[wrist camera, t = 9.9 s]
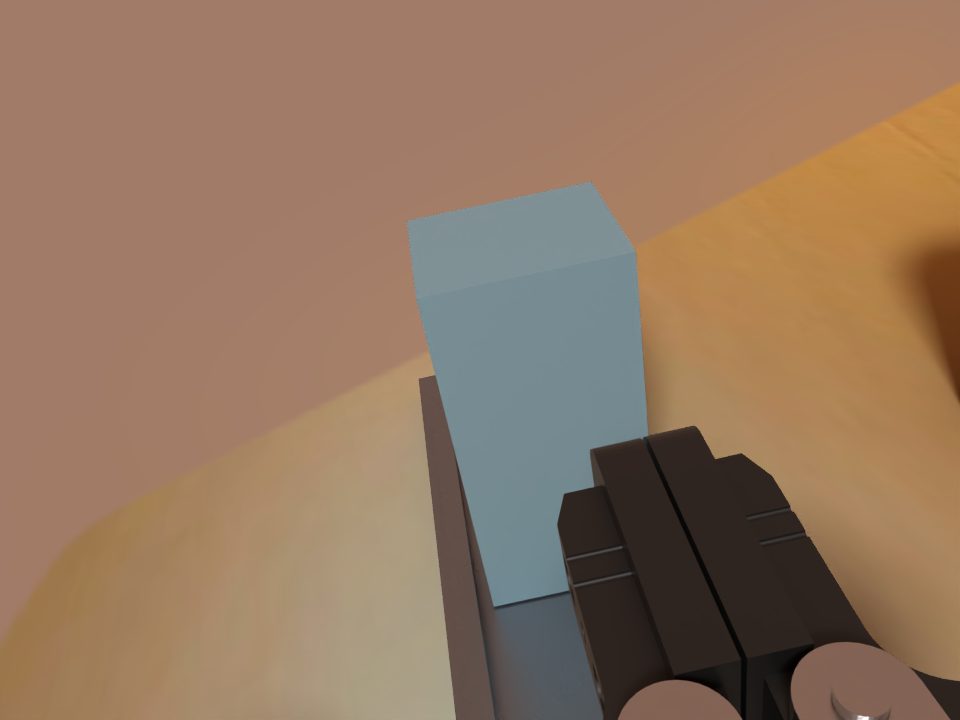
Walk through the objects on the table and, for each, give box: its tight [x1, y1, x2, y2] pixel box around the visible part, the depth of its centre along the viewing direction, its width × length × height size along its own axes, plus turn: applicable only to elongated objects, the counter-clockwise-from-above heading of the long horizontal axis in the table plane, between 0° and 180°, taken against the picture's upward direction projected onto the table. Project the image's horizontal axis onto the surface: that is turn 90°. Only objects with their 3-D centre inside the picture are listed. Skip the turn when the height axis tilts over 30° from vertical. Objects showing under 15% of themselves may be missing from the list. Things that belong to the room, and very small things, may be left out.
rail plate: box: [419, 375, 603, 720], centre depth 31 cm, size 22×10×6 cm, turn 7°
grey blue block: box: [407, 182, 648, 607], centre depth 30 cm, size 12×6×13 cm, turn 7°
